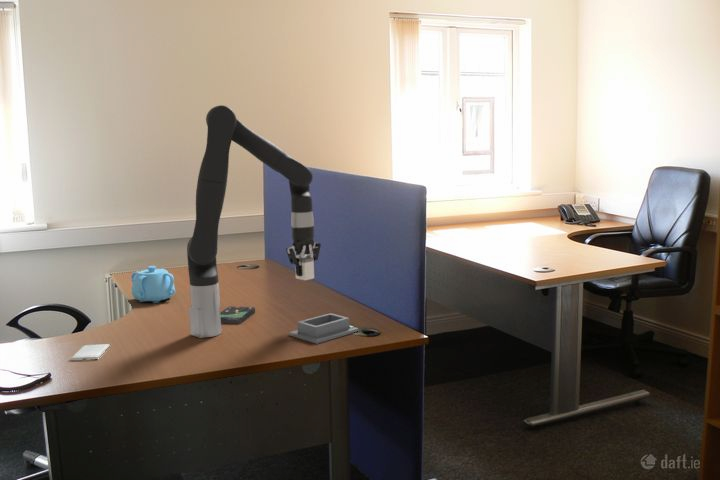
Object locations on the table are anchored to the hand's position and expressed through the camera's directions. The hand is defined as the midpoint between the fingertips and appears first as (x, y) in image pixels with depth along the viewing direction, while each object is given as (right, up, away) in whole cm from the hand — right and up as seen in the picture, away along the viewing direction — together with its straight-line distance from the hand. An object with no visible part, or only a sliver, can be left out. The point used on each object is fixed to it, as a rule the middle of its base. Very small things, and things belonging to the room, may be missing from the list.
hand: (304, 274), depth 254 cm
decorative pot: (-63, -12, +44) cm, 78 cm away
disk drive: (-26, -17, +14) cm, 34 cm away
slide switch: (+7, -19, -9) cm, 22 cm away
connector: (0, -1, 0) cm, 1 cm away
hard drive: (-64, -24, -23) cm, 73 cm away
